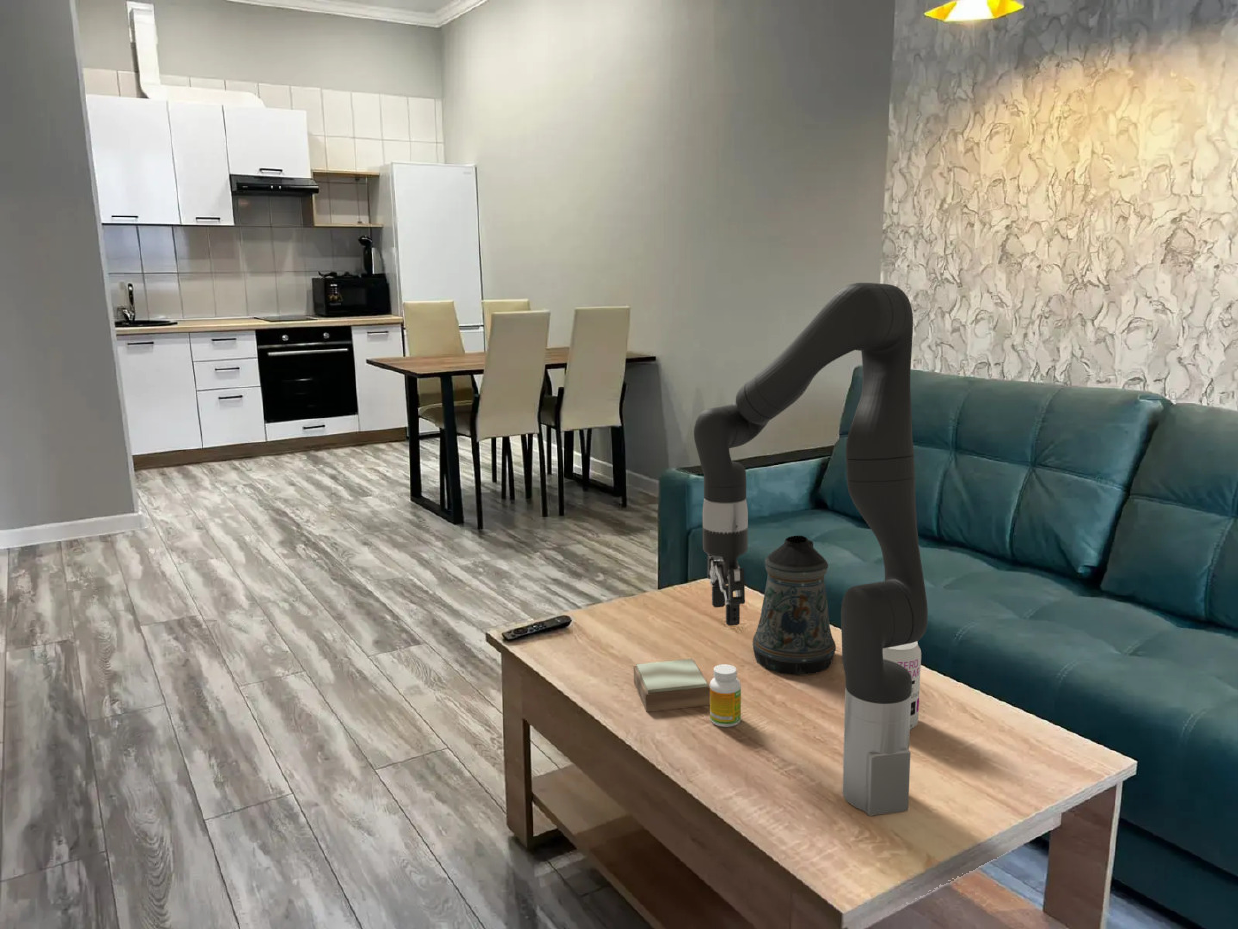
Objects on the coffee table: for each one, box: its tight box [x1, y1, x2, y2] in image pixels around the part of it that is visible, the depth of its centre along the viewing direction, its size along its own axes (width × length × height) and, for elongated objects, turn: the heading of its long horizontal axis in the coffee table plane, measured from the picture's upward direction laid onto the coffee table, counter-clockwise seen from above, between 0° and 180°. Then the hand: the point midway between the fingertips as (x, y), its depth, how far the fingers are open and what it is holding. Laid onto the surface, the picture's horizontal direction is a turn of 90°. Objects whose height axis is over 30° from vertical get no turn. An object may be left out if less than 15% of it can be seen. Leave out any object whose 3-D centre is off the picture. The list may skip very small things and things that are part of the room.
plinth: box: [633, 658, 710, 713], centre depth 165 cm, size 12×12×4 cm
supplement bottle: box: [709, 663, 742, 728], centre depth 153 cm, size 5×5×10 cm
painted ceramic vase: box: [752, 535, 837, 677], centre depth 177 cm, size 16×19×25 cm
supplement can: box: [883, 641, 922, 731], centre depth 151 cm, size 8×8×15 cm
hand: (725, 615), depth 150 cm, fingers open, 8 cm apart
